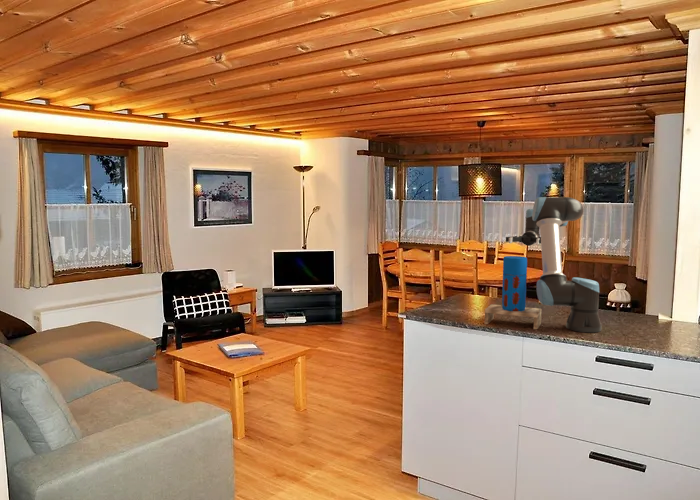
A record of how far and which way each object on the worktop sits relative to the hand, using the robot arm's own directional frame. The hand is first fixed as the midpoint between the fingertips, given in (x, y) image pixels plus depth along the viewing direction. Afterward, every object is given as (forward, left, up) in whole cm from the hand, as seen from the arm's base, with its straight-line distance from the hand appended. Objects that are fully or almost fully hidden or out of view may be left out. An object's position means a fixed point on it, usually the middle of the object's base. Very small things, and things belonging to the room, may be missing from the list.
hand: (523, 241), depth 283 cm
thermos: (-12, +20, -31) cm, 39 cm away
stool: (-11, +20, -38) cm, 44 cm away
